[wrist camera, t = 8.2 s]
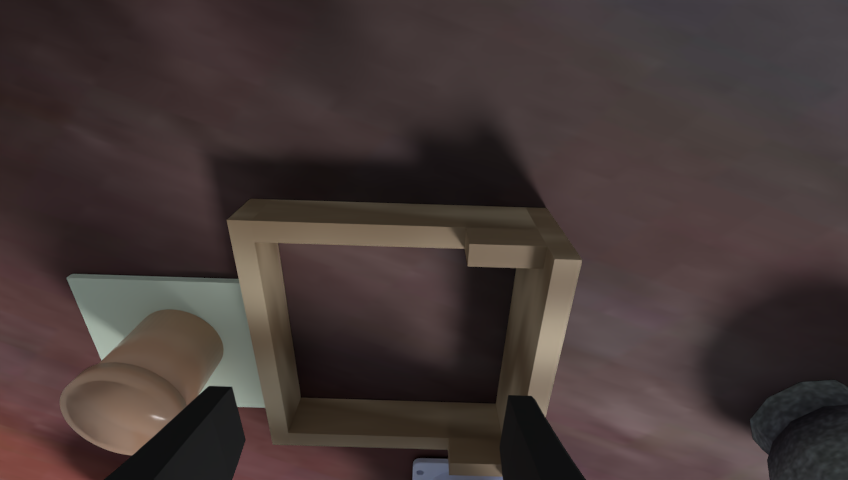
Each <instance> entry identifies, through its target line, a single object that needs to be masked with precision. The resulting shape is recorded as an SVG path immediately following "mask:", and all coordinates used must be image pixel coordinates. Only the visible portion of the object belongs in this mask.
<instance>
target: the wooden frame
mask: <svg viewBox="0 0 848 480" xmlns="http://www.w3.org/2000/svg"><path fill="white" fill-rule="evenodd" d="M227 224H228V229H229V234H230V239H231V244H232V249H233V254H234V258H235V263H236V268H237V273H238V278H239V283H240V288H241V292H242V297H243V302H244V307H245V312H246V317H247V321H248V326H249V331H250V336H251V341H252V346H253V351H254V355H255V360H256V365H257V370H258V375H259V380H260V385H261V389H262V394H263V399H264V404H265V409H266V414H267V419H268V423H269V428H270V433H271V438H272V443H273V445H305V446H338V447H371V448H404V449H437V450H448V465H449V475H460V476H493V477H503V476H502V467H501V458H500V449H499V447H500V441H501V435H502V429H503V423H504V417H505V411H506V405H507V399H508V395H521V396H532V397H533V398H534V399H535V400H536V402H537V404H538V405H539V407H540V409H541V411H542V412H543V414H544V416H545V417H546V413H547V409H548V405H549V400H550V396H551V392H552V387H553V383H554V379H555V375H556V370H557V366H558V362H559V358H560V353H561V349H562V345H563V340H564V336H565V332H566V328H567V323H568V319H569V315H570V310H571V306H572V302H573V298H574V293H575V289H576V285H577V280H578V276H579V272H580V268H581V263H582V259H581V257H580V256H579V255H578V253H577V252H576V250H575V249H574V247H573V246H572V244H571V243H570V241H569V240H568V238H567V237H566V236H565V234H564V233H563V231H562V230H561V228H560V227H559V225H558V224H557V222H556V221H555V220H554V218H553V217H552V215H551V214H550V212H549V211H548V209H547V208H529V207H498V206H466V205H435V204H403V203H371V202H340V201H308V200H276V199H249V200H248V201H247V202H246V203H245V204H244V205H243V206H242V207H241V208H239V209H238V210H237V211H236V212H235V213H234V214H233V215H232V216H231V217H229V218H228V219H227ZM278 243H296V244H328V245H360V246H392V247H424V248H456V249H465V254H466V260H467V266H468V267H500V268H516V273H515V280H514V287H513V293H512V300H511V306H510V313H509V320H508V326H507V333H506V339H505V346H504V353H503V359H502V366H501V372H500V379H499V386H498V392H497V399H496V404H492V403H459V402H426V401H394V400H361V399H328V398H301V395H300V388H299V381H298V375H297V368H296V361H295V354H294V348H293V341H292V334H291V327H290V321H289V314H288V307H287V301H286V294H285V287H284V280H283V274H282V267H281V260H280V253H279V247H278Z"/></svg>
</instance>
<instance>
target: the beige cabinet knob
mask: <svg viewBox="0 0 848 480" xmlns="http://www.w3.org/2000/svg"><path fill="white" fill-rule="evenodd" d="M223 353H224V348H223V343H222V340H221V338H220V336H219V335H218V333H217V332H216V330H215V329H214V328H213V327H212V326H211V325H210V324H209V323H207V322H206V321H205V320H203V319H201V318H200V317H198V316H196V315H194V314H191V313H188V312H185V311H181V310H173V309H166V310H160V311H156V312H153V313H151V314H149V315H148V316H147V317H146V318H144V319H143V320H142V321H141V322H140V323H139V324H138V325H137V326H136V327H135V328H134V329H133V330H132V331H131V332H130V333H129V334H128V335H127V336H126V337H125V338H124V339H123V340H122V341H121V342H120V343H119V344H118V345H117V346H116V347H115V348H114V349H113V350H112V351H111V352H110V353H109V354H108V355H107V356H106V357H105V358H104V359H103V360H102V361H101V362H100V363H99V364H96V365H93V366H91V367H89V368H87V369H85V370H84V371H83V372H81V373H80V374H79V375H78V376H77V377H76V378H75V379H74V380H73V381H72V382H71V383H70V384H69V385H68V386H67V387H66V388H65V389H64V390H63V392H62V394H61V397H60V409H61V412H62V414H63V417H64V418H65V420H66V422H67V423H68V424H69V425H70V427H71V428H72V429H73V430H74V431H75V432H77V433H78V434H79V435H80V436H82V437H83V438H84V439H86V440H87V441H89V442H91V443H93V444H95V445H97V446H99V447H101V448H103V449H106V450H109V451H112V452H115V453H120V454H125V455H133V454H134V453H136V452H137V451H138V450H139V449H140V448H141V447H142V446H143V445H145V444H146V443H147V442H148V441H149V440H150V439H151V438H152V437H153V436H155V435H156V434H157V433H158V432H159V431H160V430H161V429H162V428H163V427H164V426H166V425H167V424H168V423H169V422H170V421H171V420H172V419H173V418H174V417H175V416H176V415H178V414H179V413H180V412H181V411H182V410H183V409H184V408H185V407H186V406H187V405H188V404H189V403H191V402H192V401H193V400H194V399H195V398H196V397H197V396H198V395H199V394H200V392H201V391H202V389H203V388H204V386H205V385H206V383H207V381H208V380H209V378H210V377H211V375H212V374H213V372H214V371H215V369H216V368H217V366H218V364H219V363H220V361H221V360H222V357H223Z"/></svg>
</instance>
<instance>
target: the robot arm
mask: <svg viewBox="0 0 848 480" xmlns="http://www.w3.org/2000/svg"><path fill="white" fill-rule="evenodd" d="M244 443H245V436H244V432H243V428H242V424H241V420H240V416H239V412H238V408H237V404H236V400H235V396H234V392H233V388H232V387H228V386H208V387H207V388H206V389H205V390H204V391H203V392H202V393H200V394H199V395H198V396H197V397H196V398H195V399H194V400H193V401H192V402H191V403H189V404H188V405H187V406H186V407H185V408H184V409H183V410H182V411H181V412H180V413H179V414H178V415H176V416H175V417H174V418H173V419H172V420H171V421H170V422H169V423H168V424H167V425H166V426H164V427H163V428H162V429H161V430H160V431H159V432H158V433H157V434H156V435H155V436H153V437H152V438H151V439H150V440H149V441H148V442H147V443H146V444H145V445H143V446H142V447H141V448H140V449H139V450H138V451H137V452H136V453H134V454H133V455H132V456H131V457H130V458H129V459H128V460H127V461H125V462H124V463H123V464H122V465H121V466H120V467H119V468H117V469H116V470H115V471H114V472H113V473H111V474H110V475H109V476H108V477H107V478H105V479H104V480H232V478H233V476H234V473H235V470H236V467H237V464H238V461H239V458H240V455H241V452H242V449H243V446H244ZM499 449H500V458H501V467H502V476H503V477H493V476H460V475H449V465H448V459H437V458H417V459H415V460H414V461H413V478H412V480H586V479H585V478H584V476H583V475H582V473H581V472H580V471H579V469H578V468H577V466H576V465H575V463H574V462H573V460H572V459H571V457H570V456H569V454H568V453H567V451H566V450H565V448H564V447H563V445H562V444H561V442H560V440H559V439H558V437H557V436H556V434H555V432H554V431H553V429H552V428H551V426H550V424H549V423H548V421H547V419H546V418H545V416H544V414H543V412H542V411H541V409H540V407H539V405H538V404H537V402H536V400H535V399H534V398H533V397H532V396H521V395H508V399H507V405H506V411H505V417H504V423H503V429H502V435H501V441H500V447H499Z"/></svg>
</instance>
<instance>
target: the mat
mask: <svg viewBox="0 0 848 480" xmlns="http://www.w3.org/2000/svg"><path fill="white" fill-rule="evenodd" d="M66 279H67V281H68V283H69V285H70V288H71V290H72V292H73V295H74V297H75V299H76V302H77V304H78V306H79V309H80V311H81V313H82V316H83V318H84V320H85V323H86V325H87V327H88V330H89V332H90V334H91V337H92V339H93V341H94V344H95V346H96V348H97V351H98V353H99V355H100V358H101V360H103V359H104V358H105V357H106V356H107V355H108V354H109V353H110V352H111V351H112V350H113V349H114V348H115V347H116V346H117V345H118V344H119V343H120V342H121V341H122V340H123V339H124V338H125V337H126V336H127V335H128V334H129V333H130V332H131V331H132V330H133V329H134V328H135V327H136V326H137V325H138V324H139V323H140V322H141V321H142V320H143V319H144V318H146V317H147V316H148V315H149V314H151V313H153V312H156V311H160V310H166V309H173V310H181V311H185V312H188V313H191V314H194V315H196V316H198V317H200V318H201V319H203V320H205V321H206V322H207V323H209V324H210V325H211V326H212V327H213V328H214V329H215V330H216V332H217V333H218V335H219V336H220V338H221V340H222V343H223V348H224V353H223V357H222V360H221V361H220V363H219V364H218V366H217V368H216V369H215V371H214V372H213V374H212V375H211V377H210V378H209V380H208V381H207V383H206V385H205V386H204V388H203V389H202V391H201V392H200V393H202V392H203V391H204V390H205V389H206V388H207V387H208V386H228V387H232V388H233V392H234V396H235V400H236V404H237V407H260V408H265V404H264V399H263V394H262V389H261V385H260V380H259V375H258V370H257V365H256V360H255V355H254V351H253V346H252V341H251V336H250V331H249V326H248V321H247V317H246V312H245V307H244V302H243V297H242V292H241V288H240V283H239V279H225V278H193V277H161V276H129V275H97V274H71V275H70V276H68V277H67V278H66Z"/></svg>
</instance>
